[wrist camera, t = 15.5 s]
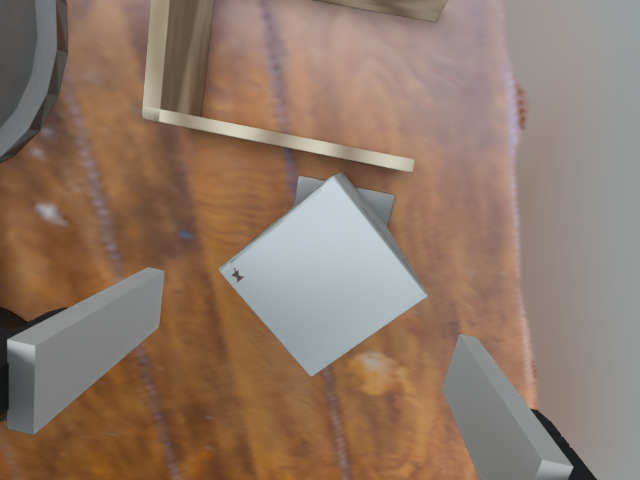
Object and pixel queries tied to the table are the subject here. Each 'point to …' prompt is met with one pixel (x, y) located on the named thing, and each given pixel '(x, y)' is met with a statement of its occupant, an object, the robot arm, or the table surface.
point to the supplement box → (325, 275)
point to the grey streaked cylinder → (29, 67)
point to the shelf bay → (191, 62)
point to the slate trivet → (375, 199)
